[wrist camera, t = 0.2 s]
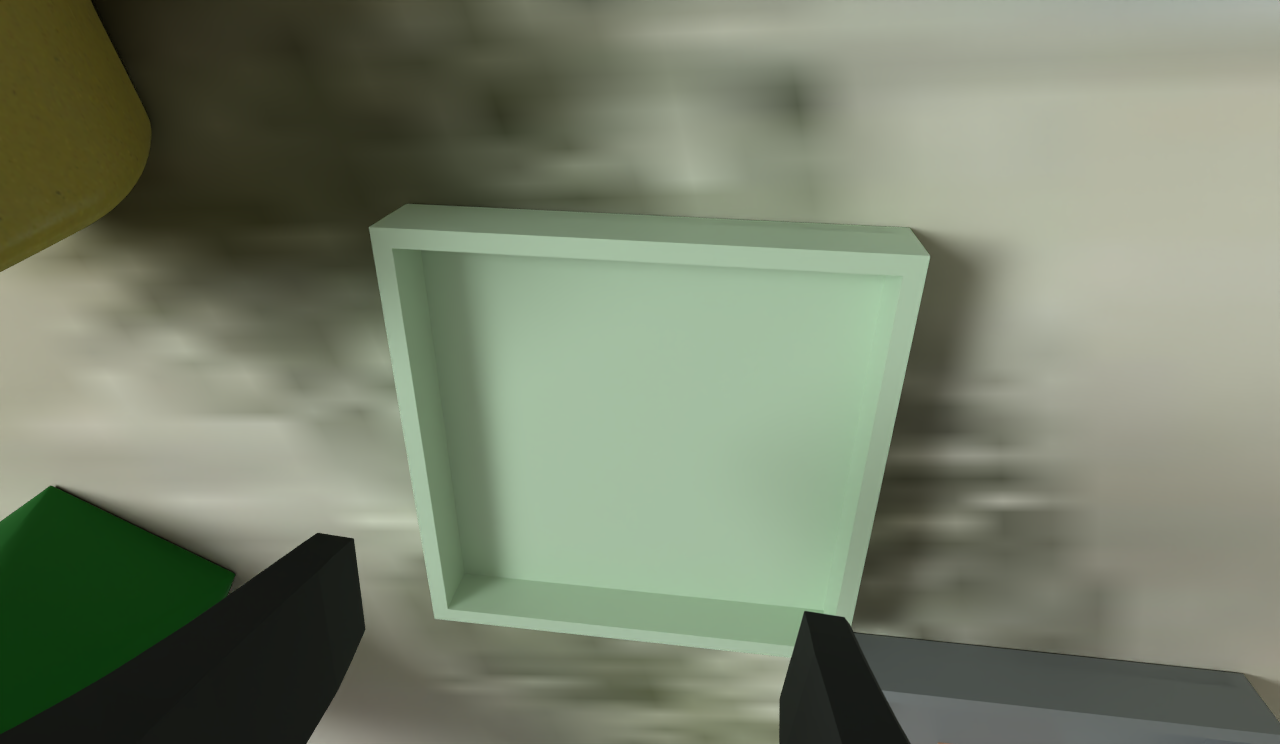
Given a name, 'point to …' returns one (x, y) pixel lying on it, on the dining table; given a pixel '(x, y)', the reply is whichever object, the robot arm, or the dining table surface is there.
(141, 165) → the flower pot
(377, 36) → the dining table surface
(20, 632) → the milk carton
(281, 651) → the robot arm
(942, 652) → the charcoal tray
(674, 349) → the green tray
